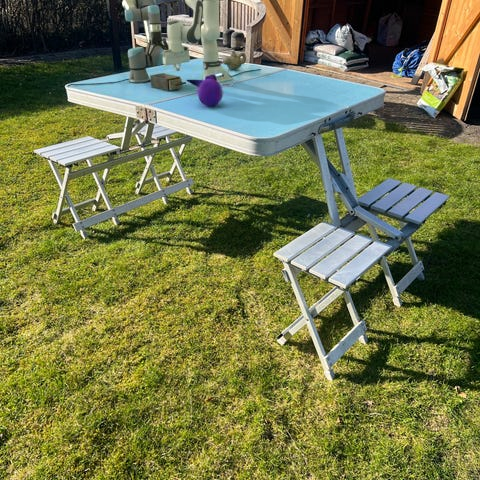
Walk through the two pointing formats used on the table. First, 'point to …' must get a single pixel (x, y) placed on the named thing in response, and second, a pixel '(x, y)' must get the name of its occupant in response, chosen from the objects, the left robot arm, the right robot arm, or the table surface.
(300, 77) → the table surface
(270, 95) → the table surface
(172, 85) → the drawer
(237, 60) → the teapot
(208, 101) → the toy
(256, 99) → the table surface
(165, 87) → the brown wooden slab
